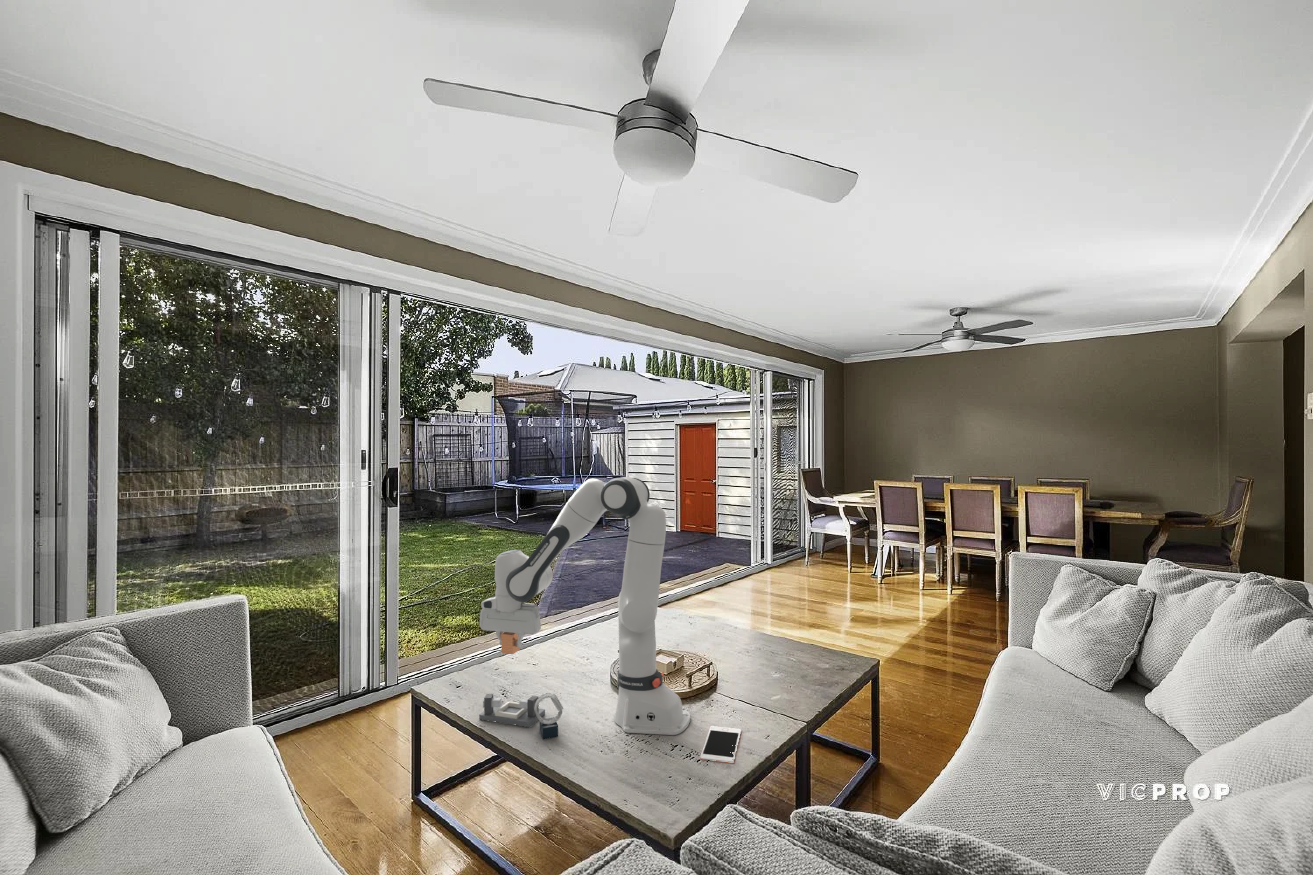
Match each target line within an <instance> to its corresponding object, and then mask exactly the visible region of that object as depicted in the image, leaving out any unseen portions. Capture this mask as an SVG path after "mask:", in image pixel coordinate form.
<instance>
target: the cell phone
mask: <svg viewBox="0 0 1313 875" xmlns="http://www.w3.org/2000/svg"><path fill="white" fill-rule="evenodd" d="M740 734H741V735H742V729H741V728H733V727H725V726H716V725H710V727H709V730H708V732H707V735H706V738H705V741H704V743H703V744H704V745H703V748H702V750H701V753H700V756H699V757H700V758H699V759H700V760H701V759H703V760H702V761H706V760H716V761H728V762H732V761H733V760H732V759H735V760H736V757H735V755H733V754H732V752H736V751H738V749H737V746H735V745H738V746H739V744H738V742H739V743H740V740H739V738H740V739H741V736H740ZM732 745H733V746H732ZM730 752H731V753H730Z"/></svg>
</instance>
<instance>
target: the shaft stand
mask: <svg viewBox="0 0 1313 875" xmlns="http://www.w3.org/2000/svg"><path fill="white" fill-rule="evenodd" d="M538 698H539V696H536V695H531V696H530V697H529V698H522V699H520V700H519V702H517V701H516V702H515V701H507V702H505V703H504V702H502V697H494V693H486V694H485V696H484V697H483V700H482V707H483V709H484V710H483V711H482V712H481V713H479V714H478V715H479V716H478V717H479V718H478V719H483V720H482V721H484V720H489V721H488V722H490V721H496V722H495V723H497V722H501V723H500V724H503V723H506V724H505V725H510V724H516V725H519V726H518V727H522V726H524V727H523V728H529V727H530V728H532V727H533V726H534V725H535V724H536V723H537V722H538V721H539V720H538V718H537V716H536V713H535V710H534V709H535V708H534V706H535V702H536V701H537V699H538ZM539 706H540V703H539V704H538V706H537V710H538V713H539V715H540V716H541V717H542V718H543V717H544V716H545V715H546V709H545V708H540V707H539ZM516 725H515V726H516Z"/></svg>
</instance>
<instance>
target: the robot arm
mask: <svg viewBox="0 0 1313 875" xmlns="http://www.w3.org/2000/svg"><path fill="white" fill-rule="evenodd" d="M650 495H651V494H650V490H649V487H648V484H647V483H645V481H643V480H641V479H639V478H637V477H628V476H624V477H623V476H621V477H614V478H611V479H610V480H609V481H607V482H604V481H603V480H601V479H598V478H593V477H592V478H589V479H587V480H585V481H584V482H583V483H582V484H581V485H580V486H578V488H577V490H575V491H574V492H573V494H572V495H571V496H570V498H569V499H568V500H567V502H566V503H565V505H564V506H563V508H561V511H560V512H559V514H558V516H557V517H556V519H555V521H554V523H553V524H552V525H551V527H550V529H549V531H547V533H546V535H545V536H544V538H543V539H542V540H541V542H540V543H539V544H538V546H537V547H536V548H535V549H534V550H533V552H532V553H531V554H530V556H529V555H527V554H525V553H523V551H522V550H520V549H511V550H506V551H502V552H501V553H499V554H498V555H497V556H496V559H495V563H494V564H495V565H494V582H495V586H496V587H495V592H494V596H491V597H488V598H486V599H484V600H483V601H481V603H480V607H481V609H480V613H479V627H480V629H481V630H482V631H489V632H490V631H491V632H495V635H496V637H497V639H498V640H499V645H500V646H502V640H501V634H502V633H504V632H510V633H517V636H519V638H518V640H517V641H515V647H522V644H523V642H522V640H523V639H524V637H525V636H526V635H536V634H538V633H539V632H540V631H541V628H542V625H541V617H540V608H539V606H538V605H536V604H535V603H532V602H531V603H529V601H531V600H533V598H534V597H536V596H537V595H538V594H540V593H541V592H542V591H544V590H546V589H547V588H548V587H549V586H550V585H551V584H552V582H553V580H554V570H553V569H552V566H551V564H552V563H553V562H554V561H555V559H556V558H557V557H558V556H559V554H560V553H562V552H563V551H564V550H565V549H567V548H568V547H570V546H571V545H572V544H574V543H577V542H578V541H580V540H581V539H583V538H584V537H585V536H586V535H587V534H588V533H589V532H590V531H591V530H592V529H593V527H595V525H596V524H597V523H598V521H599V520H600V518H601V517H602V516H603V514H604V513H605V512H606V511H608V512H609V513H611V514H613V515H615V516H618V517H619V518H620V519H623V520H626V521H627V520H628V522H629V529H628V537H627V543H626V551H625V557H624V564H623V573H622V574H623V575H622V583H621V590H620V592H619V594H618V598H617V599H618V601H617V603H618V604H617V605H618V606H617V607H618V608H617V610H618V612H617V613H618V615H617V616H618V670H617V681H616V682H617V689H618V697H617V704H616V709H615V713H614V717H613V720H614V722H615V723H616V725H618V726H619V727H621V728H622V731H623V732H625V733H629V734H630V733H631V734H645V735H664V736H666V735H667V736H669V735H670V736H675V735H676V736H677V735H679V734H681V733H683V732H684V731H685V730H686V729H687V727H688V726H689V724H690V722H691V714H690V712H689V711H687V710H683V703H682V700H681V697H680V696H679V695H678V694H677V693H676V692H674V691H673V690H672V689H671V688H670V687H668V686H667V685H666V684H665V683H663V682H664V681H663V680H664V679H663V678H664V676H665V674H664V673H665V672H664V671H662V673H661V672H659V671H658V669H657V641H656V640H657V639H656V638H657V637H656V620H657V615H658V607H659V599H660V598H659V594H660V587H661V586H660V585H661V574H662V573H661V572H662V565H663V559H664V552H665V545H666V544H665V543H666V535H667V534H666V532H667V519H666V516H667V515H666V512H665V510H664V509H663V508H662V507H661V506H659V505H657V504H654V503H650V502H649V501H650V497H651V496H650Z"/></svg>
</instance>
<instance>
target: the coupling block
mask: <svg viewBox="0 0 1313 875" xmlns="http://www.w3.org/2000/svg"><path fill="white" fill-rule="evenodd" d="M518 638H519V636H517V633H510V632H503V633H502V634H501V640H502V645H501V654H508V655H514V654H516V653H518V652H519V651H521V650H520V647H521V646H520V647H515V641H517V640H518Z"/></svg>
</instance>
